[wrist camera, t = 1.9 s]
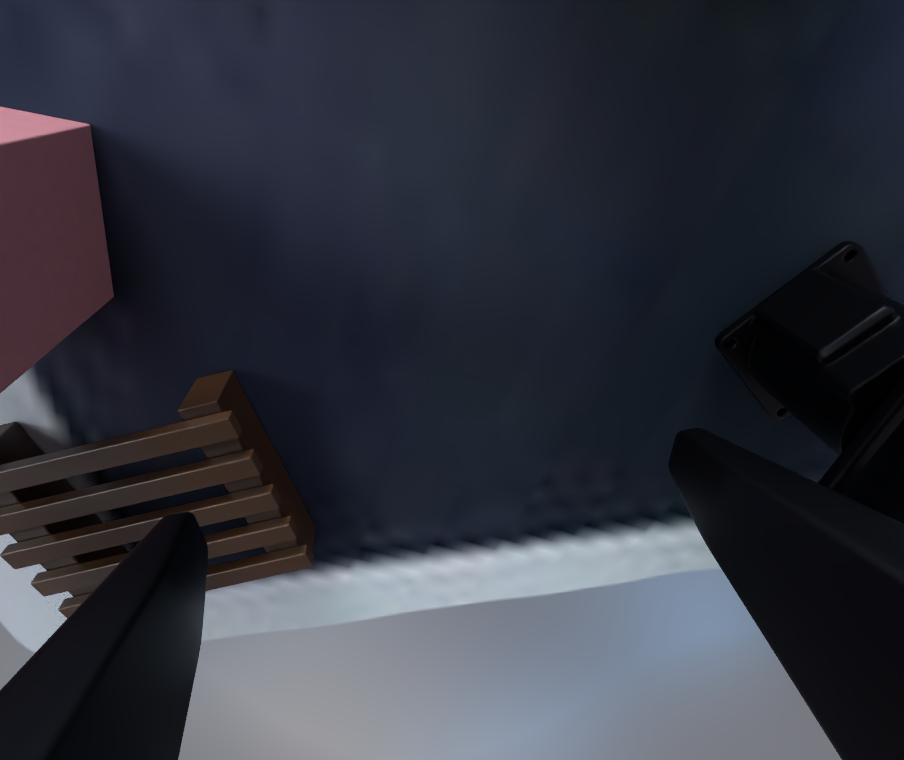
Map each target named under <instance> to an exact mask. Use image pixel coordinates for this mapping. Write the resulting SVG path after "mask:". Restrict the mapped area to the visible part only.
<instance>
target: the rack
mask: <svg viewBox="0 0 904 760" xmlns="http://www.w3.org/2000/svg"><path fill="white" fill-rule="evenodd" d="M177 411H178V413H179V415H180V416H181V418H182V419H183V421H184V422H179V423H175V424H171V425H167V426H162V427H158V428H154V429H150V430H145V431H141V432H137V433H133V434H128V435H124V436H120V437H116V438H112V439H107V440H103V441H99V442H95V443H90V444H86V445H82V446H78V447H73V448H69V449H65V450H61V451H56V452H52V453H48V454H43V452H42V451H41V450H40V449H39V448H38V447H37V446H36V444H35V443H34V442H33V441H32V440H31V439H30V437H29V436H28V435H27V434H26V433H25V432H24V430H23V429H22V428H21V427H20V426H19V425H18V423H16V422H12V423H8V424H4V425H0V535H4V534H8V533H9V534H10V535H11V536H12V537H13V538H14V539H15V540H16V541H17V542H18V543H14V544H10V545H8V546H7V547H6V548H5V549H4V551H3V552H2V553H1V554H0V556H1V557H2V558H3V559H4V560H5V561H6V562H7V563H8V564H9V565H11V566H12V567H13V568H14V569H18V568H23V567H27V566H32V565H36V564H41V565H42V566H43V567H44V568H45V569H46V570H47V571H45V572H41V573H38V574H37V575H36V576H35V578H34V579H33V581H32V582H31V585H32V586H33V587H34V588H35V589H36V590H38V591H39V592H40V593H41V594H42V595H43V596H48V595H53V594H57V593H62V592H66V591H68V592H69V593H70V594H71V595H72V596H73V597H71V598H67V599H65V600H64V601H63V603H62V604H61V606H60V607H59V611H60V612H61V613H62V614H63V615H64V616H65V617H67V618H69V617H70V616H71V615H72V613H73V612H74V611H75V610H76V609H77V608H78V607H79V606H80V605H81V604H82V603H83V602H84V601H85V600H86V599H87V597H88V596H89V595H90V594H91V593H92V592H93V591H94V590H95V589H96V588H97V587H98V586H99V585H100V584H101V583H102V581H103V580H104V579H105V578H106V577H107V576H108V575H109V574H110V573H111V572H112V571H113V570H114V569H115V568H116V567H117V565H118V564H119V563H120V562H121V561H122V560H123V559H124V558H125V557H126V556H127V555H128V554H129V553H130V552H128V551H127V550H126V549H125V548H124V546H123V544H128V543H132V542H136V541H141V540H142V539H143V538H144V537H145V536H146V535H147V533H148V532H149V531H150V530H151V529H152V528H153V527H154V526H155V525H156V524H157V523H158V522H159V521H160V520H161V519H162V518H163V517H164V516H166V515H169V514H175V513H181V512H191V513H192V514H193V515H194V516H195V518H196V520H197V522H198V524H199V527H202V526H206V525H210V524H215V523H219V522H224V521H228V520H232V519H237V518H241V517H245V519H246V520H247V522H248V524H249V525H247V526H242V527H238V528H234V529H229V530H225V531H220V532H216V533H212V534H207V535H204V538H205V540H206V542H207V546H208V559H211V558H216V557H220V556H225V555H229V554H233V553H238V552H242V551H247V550H251V549H255V548H260V547H264V549H265V550H266V552H267V553H266V554H261V555H257V556H252V557H248V558H243V559H239V560H235V561H230V562H226V563H221V564H217V565H213V566H208V567H207V578H206V591H208V590H212V589H217V588H221V587H226V586H230V585H234V584H239V583H243V582H248V581H252V580H257V579H261V578H266V577H270V576H274V575H279V574H283V573H288V572H292V571H297V570H301V569H306V568H310V567H313V561H314V556H313V554H312V549H313V543H314V537H315V531H316V526H315V524H314V522H313V520H312V519H311V517H310V515H309V513H308V511H307V509H306V507H305V505H304V503H303V502H302V500H301V498H300V496H299V494H298V492H297V490H296V488H295V487H294V485H293V483H292V481H291V479H290V477H289V475H288V473H287V471H286V470H285V468H284V466H283V464H282V462H281V460H280V458H279V456H278V454H277V453H276V451H275V449H274V447H273V445H272V443H271V441H270V439H269V437H268V436H267V434H266V432H265V430H264V428H263V426H262V424H261V422H260V421H259V419H258V417H257V415H256V413H255V411H254V409H253V407H252V405H251V404H250V402H249V400H248V398H247V396H246V394H245V392H244V390H243V388H242V387H241V385H240V383H239V381H238V379H237V377H236V375H235V373H234V371H233V370H230V371H226V372H221V373H217V374H213V375H209V376H205V377H200V378H197V379H196V381H195V382H194V384H193V386H192V387H191V389H190V391H189V392H188V394H187V395H186V397H185V399H184V400H183V402H182V404H181V405H180V407H179V408H178V410H177ZM198 447H200V448H201V449H202V451H203V453H204V454H205V456H206V457H207V459H208V460H204V461H199V462H195V463H191V464H186V465H182V466H178V467H174V468H169V469H165V470H161V471H156V472H152V473H148V474H144V475H139V476H135V477H131V478H126V479H122V480H118V481H113V482H109V483H105V484H101V485H96V486H92V487H88V488H83V489H79V490H74V488H73V487H72V486H71V485H70V484H69V483H68V481H67V480H66V478H70V477H74V476H78V475H83V474H87V473H91V472H95V471H100V470H104V469H108V468H113V467H117V466H121V465H125V464H130V463H134V462H138V461H142V460H147V459H151V458H155V457H160V456H164V455H168V454H172V453H177V452H181V451H185V450H189V449H194V448H198ZM220 484H224V486H225V487H226V489H227V490H228V492H229V494H226V495H222V496H218V497H213V498H209V499H205V500H200V501H196V502H192V503H187V504H183V505H179V506H174V507H170V508H166V509H161V510H157V511H153V512H148V513H144V514H140V515H135V516H131V517H127V518H122V519H118V520H114V521H109V522H105V523H103V522H102V521H101V520H100V519H99V517H98V516H97V515H96V514H95V513H99V512H103V511H107V510H112V509H116V508H120V507H125V506H129V505H133V504H138V503H142V502H146V501H151V500H155V499H159V498H164V497H168V496H172V495H177V494H181V493H185V492H189V491H194V490H198V489H202V488H207V487H211V486H215V485H220Z"/></svg>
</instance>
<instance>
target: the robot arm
mask: <svg viewBox="0 0 904 760" xmlns="http://www.w3.org/2000/svg"><path fill="white" fill-rule="evenodd" d="M848 251H849V253H848V255H847V256H846V257H845V258H844V256H845V254H846V253H847V252H848ZM730 339H731V341H730V342H729V343H728V344H726V342H727V341H728V340H730ZM725 344H726V345H725ZM715 346H716V347H717V349H718V350H719V351H720V353H721V354H722V355H723V356H724V358H725V359H726V360H727V362H728V363H729V364H730V366H731V367H732V368H733V369H734V371H735V372H736V373H737V375H738V376H739V377H740V378H741V380H742V381H743V382H744V384H745V385H746V386H747V387H748V389H749V390H750V391H751V393H752V394H753V395H754V396H755V398H756V399H757V400H758V402H759V403H760V404H761V405H762V407H763V408H764V409H765V411H766V412H767V413H768V414H769V415H770V416H771V417H772V418H773V419H775V420H782V419H784V418H786V417H788V416H789V415H791V414H793V415H794V416H795V417H796V418H797V419H799V420H800V421H801V422H802V423H803V424H804V425H805V426H806V427H808V428H809V429H810V430H811V431H812V432H813V433H814V434H815V435H817V436H818V437H819V438H820V439H821V440H822V441H823V442H824V443H826V444H827V445H828V446H829V447H830V448H831V449H832V450H833V451H835V452H836V453H837V454H838V455H839V457H838V458H837V459H836V461H835V462H834V463H833V464H832V466H831V467H830V468H829V469H828V471H827V472H826V473H825V475H824V476H823V477H822V478H821V480H820V481H819V482H818V483H816V482H814V481H812V480H810V479H808V478H806V477H803V476H801V475H799V474H797V473H795V472H793V471H791V470H789V469H786V468H784V467H782V466H780V465H778V464H776V463H774V462H772V461H769V460H767V459H765V458H763V457H761V456H759V455H757V454H754V453H752V452H750V451H748V450H746V449H744V448H742V447H740V446H737V445H735V444H733V443H731V442H729V441H727V440H725V439H723V438H720V437H718V436H716V435H714V434H712V433H710V432H708V431H706V430H703V429H701V428H693V429H687V430H682V431H679V432H678V434H677V435H676V437H675V441H674V444H673V448H672V451H671V455H670V459H669V470H670V473H671V476H672V478H673V480H674V482H675V484H676V486H677V488H678V490H679V492H680V494H681V496H682V498H683V500H684V502H685V504H686V506H687V508H688V510H689V512H690V514H691V516H692V518H693V520H694V522H695V524H696V526H697V528H698V530H699V532H700V534H701V536H702V537H703V539H704V541H705V543H706V545H707V546H708V548H709V550H710V551H711V553H712V554H713V556H714V558H715V559H716V561H717V562H718V564H719V566H720V567H721V569H722V570H723V572H724V573H725V575H726V576H727V578H728V580H729V581H730V583H731V584H732V586H733V588H734V589H735V591H736V592H737V594H738V596H739V597H740V599H741V600H742V602H743V603H744V605H745V607H746V608H747V610H748V612H749V613H750V615H751V616H752V618H753V619H754V621H755V622H756V624H757V626H758V627H759V629H760V630H761V632H762V634H763V635H764V637H765V638H766V640H767V641H768V643H769V645H770V646H771V648H772V650H773V651H774V653H775V654H776V656H777V657H778V659H779V661H780V662H781V664H782V665H783V667H784V669H785V670H786V672H787V673H788V675H789V677H790V678H791V680H792V681H793V683H794V684H795V686H796V688H797V689H798V691H799V692H800V694H801V696H802V697H803V699H804V700H805V702H806V703H807V705H808V706H809V708H810V710H811V711H812V713H813V715H814V716H815V718H816V719H817V721H818V722H819V724H820V726H821V727H822V729H823V730H824V732H825V734H826V735H827V737H828V738H829V740H830V741H831V743H832V745H833V746H834V748H835V749H836V751H837V752H838V754H839V756H840V757H841V759H842V760H904V305H903V304H900V303H898V302H896V301H894V300H892V299H890V298H888V297H887V296H886V294H885V292H884V290H883V288H882V286H881V284H880V282H879V280H878V278H877V276H876V274H875V272H874V270H873V268H872V266H871V264H870V262H869V260H868V258H867V256H866V254H865V252H864V250H863V248H862V247H861V246H860V245H859V244H856V243H854V242H851V241H845V242H842V243H841V244H839V245H837V246H836V247H835V248H833V249H832V250H831V251H829V252H828V253H827V254H825V255H824V256H823V257H821V258H820V259H819V260H817V261H816V262H815V263H813V264H812V265H811V266H809V267H808V268H807V269H805V270H804V271H803V272H801V273H800V274H799V275H797V276H796V277H795V278H793V279H792V280H791V281H789V282H788V283H787V284H785V285H784V286H783V287H781V288H780V289H778V290H777V291H776V292H774V293H773V294H772V295H770V296H769V297H768V298H766V299H765V300H764V301H762V302H761V303H760V304H758V305H757V306H756V307H754V308H753V309H752V310H750V311H749V312H748V313H746V314H745V315H744V316H742V317H741V318H740V319H738V320H737V321H736V322H734V323H733V324H732V325H730V326H729V327H728V328H726V329H725V330H724V331H722V332H721V333H720V334H719V335H718V336H717V337H716V339H715ZM779 409H780V410H779ZM207 566H208V546H207V542H206V540H205V538H204V535H203V533H202V531H201V529H200V527H199V524H198V522H197V520H196V518H195V516H194V515H193V514H192V513H191V512H181V513H175V514H169V515H166V516H164V517H163V518H162V519H161V520H160V521H159V522H158V523H157V524H156V525H155V526H154V527H153V528H152V529H151V530H150V531H149V532H148V533H147V535H146V536H145V537H144V538H143V539H142V540H141V541H140V542H139V543H138V544H137V545H136V546H135V547H134V548H133V549H132V551H131V552H130V553H129V554H128V555H127V556H126V557H125V558H124V559H123V560H122V561H121V562H120V563H119V564H118V565H117V567H116V568H115V569H114V570H113V571H112V572H111V573H110V574H109V575H108V576H107V577H106V578H105V579H104V580H103V581H102V583H101V584H100V585H99V586H98V587H97V588H96V589H95V590H94V591H93V592H92V593H91V594H90V595H89V596H88V597H87V599H86V600H85V601H84V602H83V603H82V604H81V605H80V606H79V607H78V608H77V609H76V610H75V611H74V612H73V613H72V615H71V616H70V617H69V618H68V619H67V620H66V621H65V622H64V623H63V624H62V625H61V626H60V627H59V628H58V629H57V631H56V632H55V633H54V634H53V635H52V636H51V637H50V638H49V639H48V640H47V641H46V642H45V643H44V644H43V645H42V646H41V648H40V649H39V650H38V651H37V652H36V653H35V654H34V655H33V656H32V657H31V658H30V659H29V661H27V662H26V664H25V665H24V666H23V667H22V668H21V669H20V670H19V671H18V672H17V673H16V674H15V675H14V676H13V677H12V679H11V680H10V681H9V682H8V683H7V684H6V685H5V686H4V687H3V688H2V689H1V690H0V760H178V757H179V752H180V747H181V742H182V737H183V732H184V727H185V722H186V717H187V712H188V707H189V702H190V697H191V692H192V687H193V681H194V677H195V672H196V667H197V662H198V657H199V651H200V645H201V637H202V628H203V615H204V603H205V591H206V578H207Z"/></svg>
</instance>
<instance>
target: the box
mask: <svg viewBox="0 0 904 760" xmlns="http://www.w3.org/2000/svg"><path fill="white" fill-rule="evenodd" d="M113 297H114V293H113V286H112V278H111V271H110V264H109V257H108V250H107V242H106V235H105V228H104V221H103V214H102V206H101V199H100V192H99V185H98V177H97V170H96V163H95V156H94V149H93V141H92V134H91V127H90V125H89V124H85V123H80V122H75V121H70V120H65V119H60V118H55V117H50V116H45V115H40V114H35V113H30V112H25V111H20V110H14V109H9V108H4V107H0V393H1V392H2V391H3V390H5V389H6V388H7V387H8V386H9V385H10V384H12V383H13V382H14V381H15V380H16V379H18V378H19V377H20V376H21V375H22V374H23V373H25V372H26V371H27V370H28V369H29V368H31V367H32V366H33V365H34V364H35V363H36V362H38V361H39V360H40V359H41V358H42V357H43V356H45V355H46V354H47V353H48V352H49V351H51V350H52V349H53V348H54V347H55V346H56V345H58V344H59V343H60V342H61V341H62V340H64V339H65V338H66V337H67V336H68V335H69V334H71V333H72V332H73V331H74V330H75V329H77V328H78V327H79V326H80V325H81V324H82V323H84V322H85V321H86V320H87V319H88V318H90V317H91V316H92V315H93V314H94V313H95V312H97V311H98V310H99V309H100V308H101V307H103V306H104V305H105V304H106V303H107V302H108V301H110V300H111V299H112V298H113Z"/></svg>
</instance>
